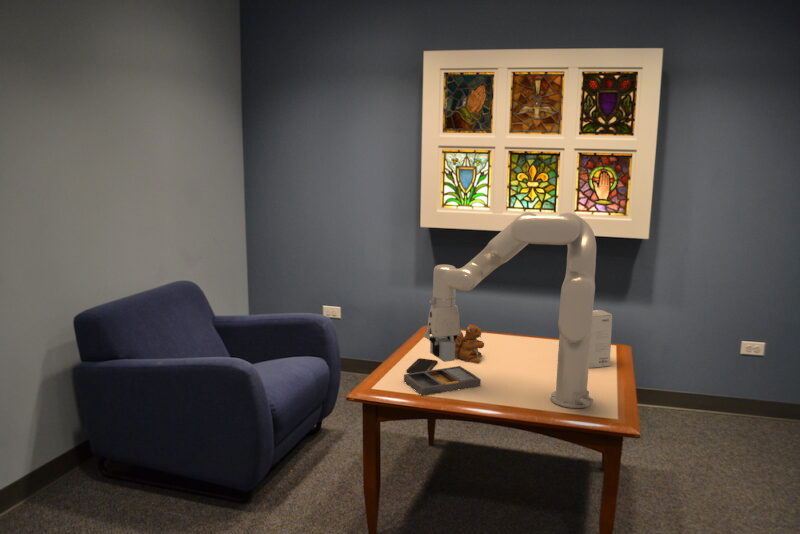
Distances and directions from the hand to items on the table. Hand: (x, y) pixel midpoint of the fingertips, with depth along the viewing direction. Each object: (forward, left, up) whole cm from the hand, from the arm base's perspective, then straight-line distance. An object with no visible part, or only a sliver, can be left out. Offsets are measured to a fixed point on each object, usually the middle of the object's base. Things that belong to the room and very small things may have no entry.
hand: (442, 354), depth 209 cm
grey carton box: (-4, -59, -11) cm, 60 cm away
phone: (+17, -1, -11) cm, 20 cm away
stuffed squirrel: (+20, -21, -11) cm, 31 cm away
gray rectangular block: (0, 0, -1) cm, 1 cm away
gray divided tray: (0, 0, -10) cm, 10 cm away
